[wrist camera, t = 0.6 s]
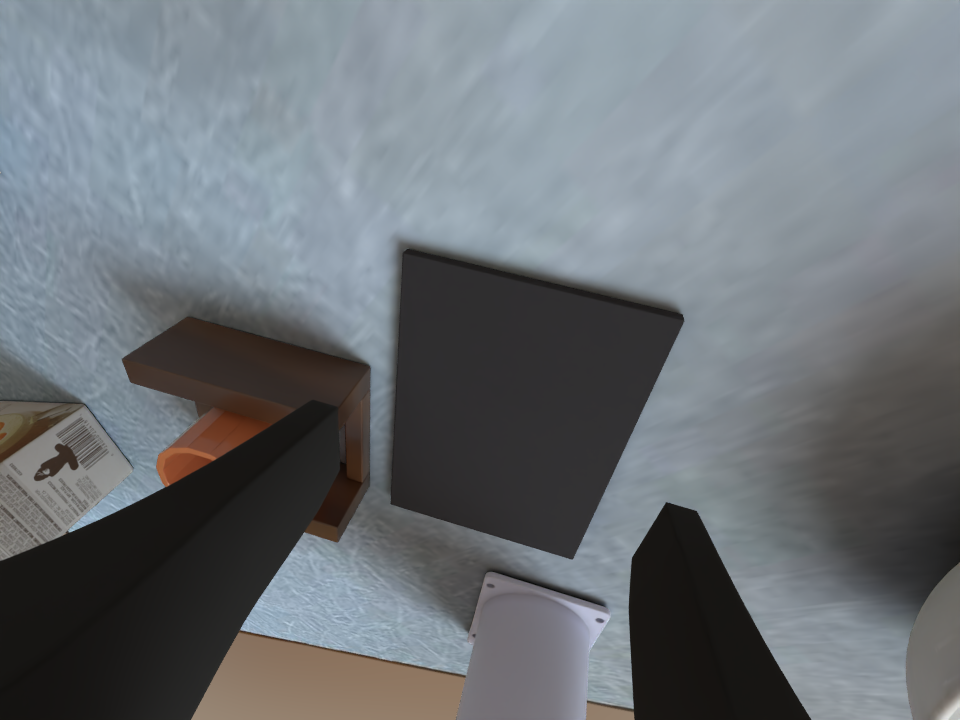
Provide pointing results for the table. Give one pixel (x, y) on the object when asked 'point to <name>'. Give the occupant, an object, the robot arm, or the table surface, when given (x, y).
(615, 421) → the mat
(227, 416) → the cup
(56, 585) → the robot arm
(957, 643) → the serving bowl
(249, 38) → the table surface
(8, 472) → the coffee box
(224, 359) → the stand
